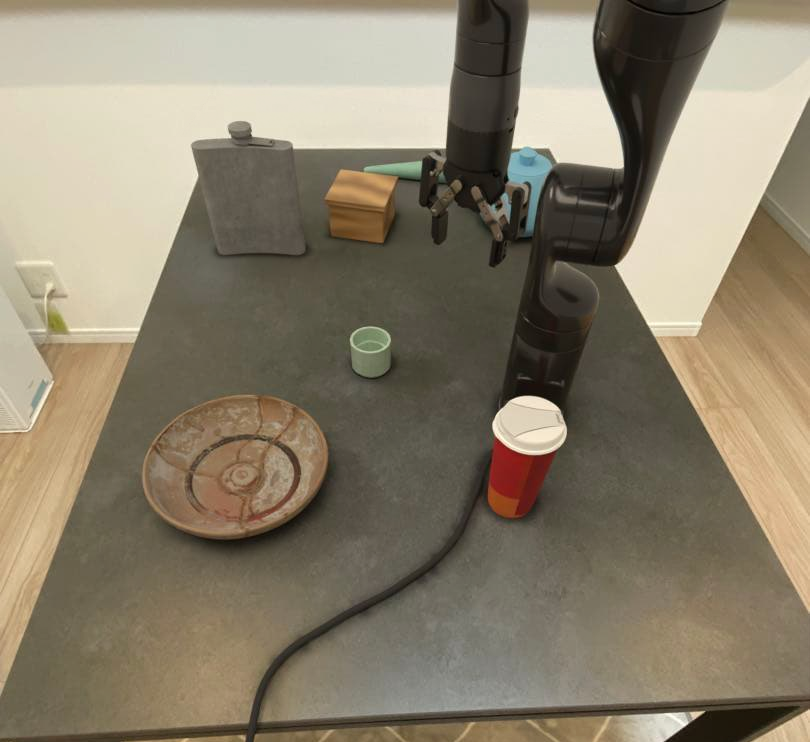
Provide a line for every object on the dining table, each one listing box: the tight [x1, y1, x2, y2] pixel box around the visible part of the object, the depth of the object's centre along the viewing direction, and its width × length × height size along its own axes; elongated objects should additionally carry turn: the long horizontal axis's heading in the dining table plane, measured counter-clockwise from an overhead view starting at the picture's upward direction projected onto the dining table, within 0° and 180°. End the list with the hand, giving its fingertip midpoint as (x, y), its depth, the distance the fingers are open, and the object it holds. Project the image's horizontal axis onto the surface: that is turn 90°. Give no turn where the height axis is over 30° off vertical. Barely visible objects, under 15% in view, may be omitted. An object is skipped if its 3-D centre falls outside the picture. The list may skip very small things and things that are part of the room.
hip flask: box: [190, 120, 307, 256], centre depth 101 cm, size 16×4×20 cm, turn 91°
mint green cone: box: [363, 160, 447, 184], centre depth 122 cm, size 5×6×27 cm
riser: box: [323, 168, 399, 244], centre depth 111 cm, size 11×11×7 cm
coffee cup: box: [487, 396, 568, 519], centre depth 73 cm, size 8×8×15 cm
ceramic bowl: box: [141, 394, 329, 540], centre depth 78 cm, size 23×24×5 cm
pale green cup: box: [349, 326, 392, 379], centre depth 91 cm, size 6×6×5 cm
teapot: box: [479, 146, 553, 238], centre depth 111 cm, size 20×20×13 cm
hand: (467, 252), depth 79 cm, fingers open, 8 cm apart
